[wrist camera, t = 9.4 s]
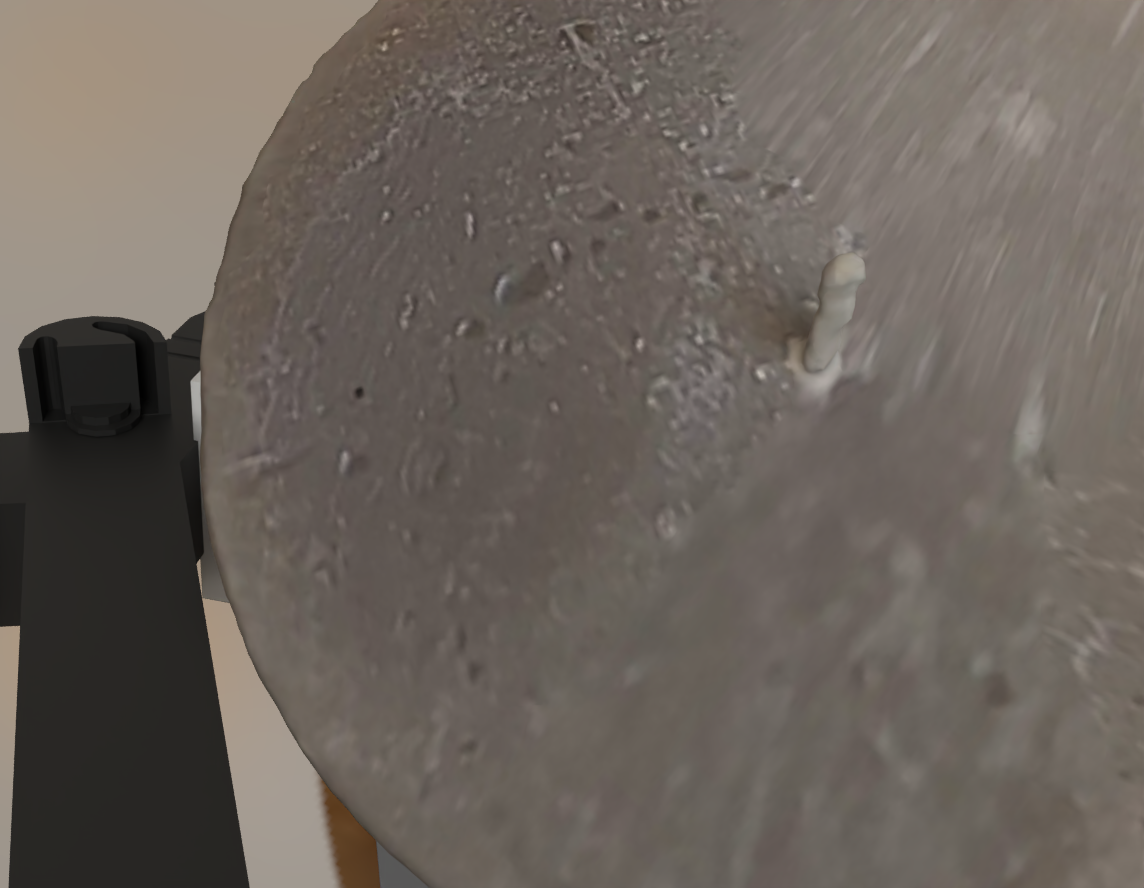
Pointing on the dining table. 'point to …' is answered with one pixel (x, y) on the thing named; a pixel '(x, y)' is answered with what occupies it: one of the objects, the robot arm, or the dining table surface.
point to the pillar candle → (700, 439)
